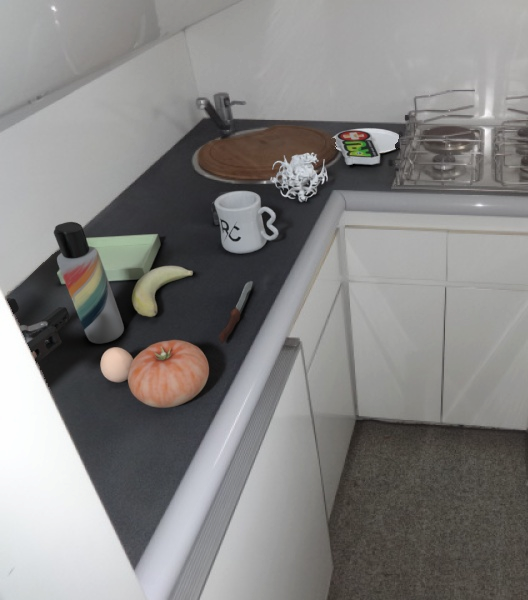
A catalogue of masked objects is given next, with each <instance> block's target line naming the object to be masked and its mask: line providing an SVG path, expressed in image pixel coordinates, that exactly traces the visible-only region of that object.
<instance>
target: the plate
mask: <svg viewBox="0 0 528 600" xmlns="http://www.w3.org/2000/svg"><path fill="white" fill-rule="evenodd" d="M352 130H361V131H366V132H368V133H370V134H371V135H372V140H373V141H374V143H375V145H376V147H377V150H378V152H379V154H380V155H382V154H388V153H390V152H393V151H396V150H397V149H396V148H395V144H396V143H397V142H398V139H399V135H400V134H398V133H397V132H394V131H392V130H387V129H383V128H375V127H374V128H371V127H369V128H368V127H364V128H355V129H352ZM336 135H337V134H335V135H333V137H332V138H335V139H336ZM335 144H336V146H337V147H336V146H335V147H336V149H337V150H336V149H335V150H336V151H338V152H341V153H342V151H341V146H339V145H337V143H336V142H335Z"/></svg>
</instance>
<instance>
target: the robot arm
mask: <svg viewBox="0 0 528 600" xmlns="http://www.w3.org/2000/svg"><path fill="white" fill-rule="evenodd" d="M6 299H7V301H8V303H9V305H10V307H11V309H12V312H13V314H14V315H15V314H17V313H18V312H19V310H20V307H19V304H18V302H17V300H16V299H15V298H13V297H8V298H6ZM70 318H71V317H70V314H69V311H68V309H67V307H65V306H58V307H57V308H55V309H54V310H53V311H52V312H51V313H49V314H48V315H47V316H45V317H44V318H43V319H42V320H41V321H40V322H38V323H34V324H31V325H25V324H21V325H19V326H20V329H21V331H22V333H23V335H24V337H25V339H24V341H25V340H26V341H25V343H26V342H27V344H28V346H29V348H30V350H31V352H32V354H33V356H34V358H35V361H36V364H38V363H39V362H40V361H41V360H43V359H44V358H45V357H46V356H47V355H49V354H50V353H51V352H52V351H54V350H55V349H57V348H58V347H59V346H60V345H61V344H62V340H61V337H60V335H59V332H58V331H59V330H60V329H62V328H63V327H65V325H66V324H67V323H69V322H70V320H71V319H70ZM37 332H40V333H38V334H36V335H35V336H34V337H32V336H31V335H32V334H34V333H37ZM24 337H23V338H24Z"/></svg>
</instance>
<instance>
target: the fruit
mask: <svg viewBox="0 0 528 600" xmlns="http://www.w3.org/2000/svg"><path fill="white" fill-rule="evenodd" d="M193 273H194V272H193V270H189V269H186V268H184V267H182V266H179V265H164V266H159V267H156V268H154V269H150V271H149V272H148V273H146V274H145V275H143V276H142V277H141V278H140V279H137V282H136V283H135V285H134V288H133V290H132V295H131V302H132V305H133V308H134V310H135V312H137V314H138V315H141V316H143V317H149V318H153V317H156V315H157V314H158V305H157V304H158V303H157V301H156V298H155V297H156V296H155V295H156V292H157V291H158V290H159V289H160V288H162V287H163V286H165V285H166V284H169V283H171V282H174V281H177V280H181V279H183V278H187V277H191V276H193Z"/></svg>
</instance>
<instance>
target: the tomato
mask: <svg viewBox="0 0 528 600" xmlns="http://www.w3.org/2000/svg"><path fill="white" fill-rule="evenodd" d="M209 366H210V365H209V362H208V359H207V357H206V354H204V352H203V350H202V349H201V348H199V347H198V346H197V345H195V344H193V343H191V342H188V341H186V340H182V339H181V340H180V339H170V340H163V341H158V342H156V343H153V344H150V345H148V347H146V348H144V349H142V350H141V351H140V352H139V353H138V354H137V355H136V356H135V357H134V358H133V361H132V363H131V365H130V368H129V372H128V379H127V382H128V387H129V389H130V392H131V394H132V395H133V396H134V397H135V398H136V399H137V400H138V401H140V402H141V403H143V404H145V405H147V406H149V407H154V408H160V409H165V408H166V409H167V408H174V407H178V406H181V405H183V404H186V403H187V402H190V401H191V400H193V399H194V398H195V397H196V396H198V395H199V394H200V393H201V392H202V390H203V389H204V387H205V386H206V384H207V381H208V379H209V374H210V367H209Z"/></svg>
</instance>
